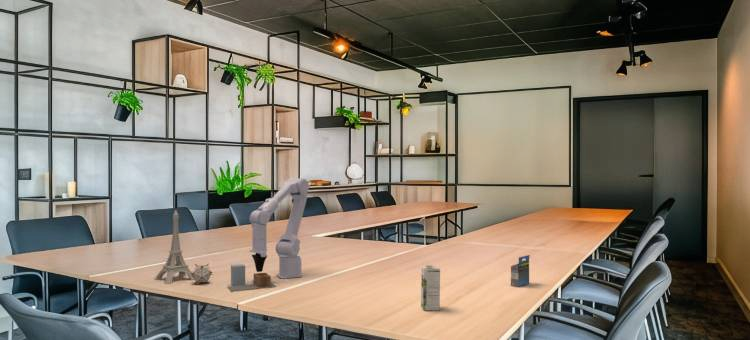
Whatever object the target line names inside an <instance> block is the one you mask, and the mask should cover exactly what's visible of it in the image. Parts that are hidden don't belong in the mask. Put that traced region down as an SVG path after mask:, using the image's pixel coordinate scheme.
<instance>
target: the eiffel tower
mask: <svg viewBox="0 0 750 340" xmlns="http://www.w3.org/2000/svg"><path fill="white" fill-rule="evenodd" d="M179 219H180V216H179V213H178V210H176V209H175V210H174V213H173V214H172V220H173V225H172V226H173V227H172V239H171V246H170V250H169V251H168V252H169V255H168V258H167V260H166V262H165V264H163V265H162V268H161V269H160V271H159V272H158V273H157V275H156V276H155V277H154V278H153V280H155V281H159V280H163V279H164V278H163V277H164V275H165V274H166V278H165V280H164V282H163V284H165V285H170V284H173V279H174V276H175V275H176V273H178V276H179V277H184V276H185V277H186V276H188V280H190V281H195V279H194V277H193V276H191V275H193V274H191V273H193V271H191V270H190V268H189V264H187V263H186V261H185V259H184V257H183V254H182V253H183V250H181V241H180V235H179Z"/></svg>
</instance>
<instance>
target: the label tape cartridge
mask: <svg viewBox="0 0 750 340" xmlns="http://www.w3.org/2000/svg"><path fill="white" fill-rule="evenodd" d="M529 284H530V254H527V255H524V256H519V257H518V263H515V264H513V265H511V266H510V287H514V288H520V287H523V286H527V285H529Z"/></svg>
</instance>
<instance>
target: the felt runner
mask: <svg viewBox="0 0 750 340" xmlns="http://www.w3.org/2000/svg"><path fill="white" fill-rule="evenodd" d="M226 287H227V289H228V290H229V292H240V291H251V290H261V289H268V288H270V289H271V288H277V286H276V285H275V284H274V283H273V282H271V286H267V287H257V286H256V285H255V284H254V283H249V284H245V285H238V286H232V285H231V286H230V285H229V286H226Z"/></svg>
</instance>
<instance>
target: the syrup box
mask: <svg viewBox="0 0 750 340" xmlns="http://www.w3.org/2000/svg"><path fill="white" fill-rule="evenodd" d="M420 279H421V282H420V283H421V284H420V285H421V286H420V287H421V288H420V307H421V308H422V310H423V311H424V310H432V311H440V304H441V303H440V302H441V301H440V300H441V269H440V267H439V266H437V265H433V264H432V265H431V264H426V265H421V278H420Z"/></svg>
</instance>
